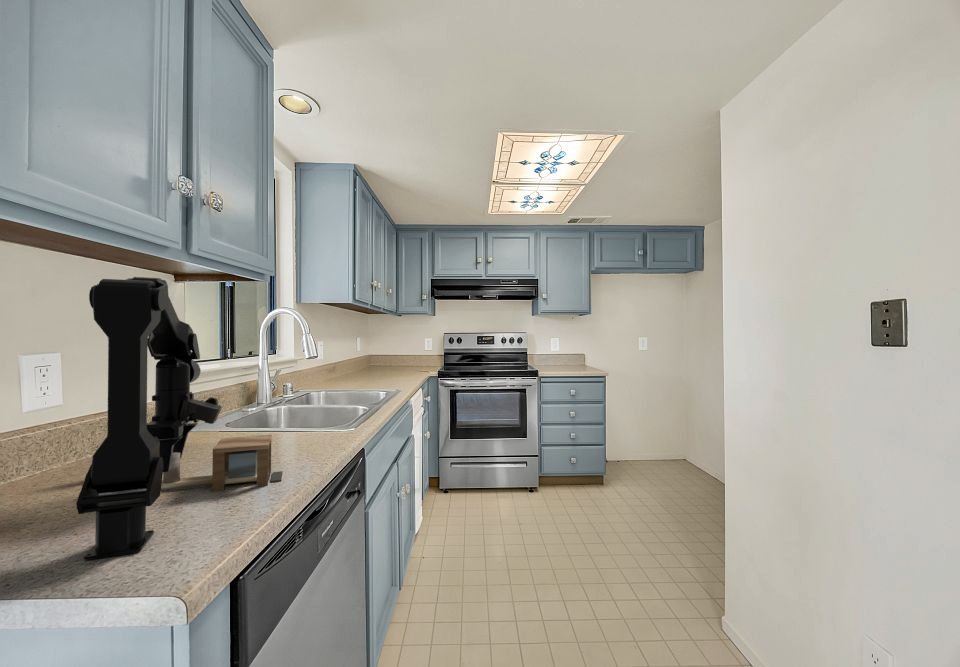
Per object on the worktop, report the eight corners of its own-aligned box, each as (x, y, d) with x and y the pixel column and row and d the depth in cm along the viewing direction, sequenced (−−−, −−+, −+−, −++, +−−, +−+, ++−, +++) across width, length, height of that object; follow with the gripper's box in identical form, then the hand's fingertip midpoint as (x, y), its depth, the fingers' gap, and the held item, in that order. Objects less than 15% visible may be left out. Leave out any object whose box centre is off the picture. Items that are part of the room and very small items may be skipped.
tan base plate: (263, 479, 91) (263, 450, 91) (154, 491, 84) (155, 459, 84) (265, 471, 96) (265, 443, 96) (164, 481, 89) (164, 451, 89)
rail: (269, 479, 93) (269, 477, 93) (81, 500, 81) (81, 496, 81) (269, 476, 95) (269, 473, 95) (87, 495, 83) (87, 492, 83)
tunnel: (267, 485, 89) (268, 444, 89) (212, 491, 86) (212, 449, 86) (271, 471, 99) (271, 434, 99) (221, 476, 95) (221, 438, 95)
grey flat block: (281, 481, 92) (281, 479, 92) (270, 482, 91) (270, 480, 91) (282, 472, 98) (282, 471, 98) (272, 473, 97) (272, 472, 97)
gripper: (209, 392, 82) (208, 474, 82) (225, 383, 99) (225, 450, 99) (137, 395, 77) (136, 481, 77) (168, 384, 95) (167, 455, 95)
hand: (171, 465), depth 87 cm, fingers open, 9 cm apart
